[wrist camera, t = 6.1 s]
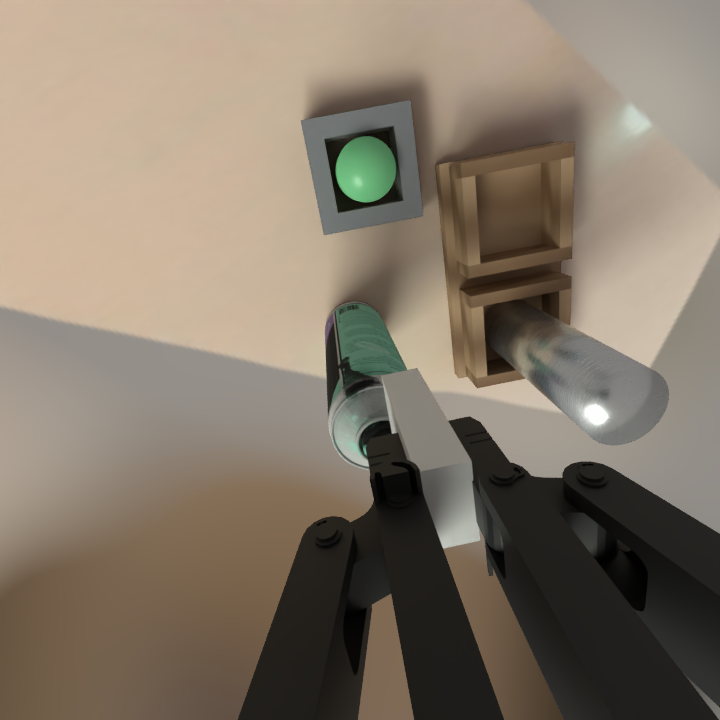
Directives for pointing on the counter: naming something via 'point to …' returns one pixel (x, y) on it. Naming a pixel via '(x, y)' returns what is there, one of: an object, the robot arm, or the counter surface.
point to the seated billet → (578, 373)
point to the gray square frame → (402, 148)
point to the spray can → (358, 378)
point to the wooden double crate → (504, 245)
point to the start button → (365, 169)
